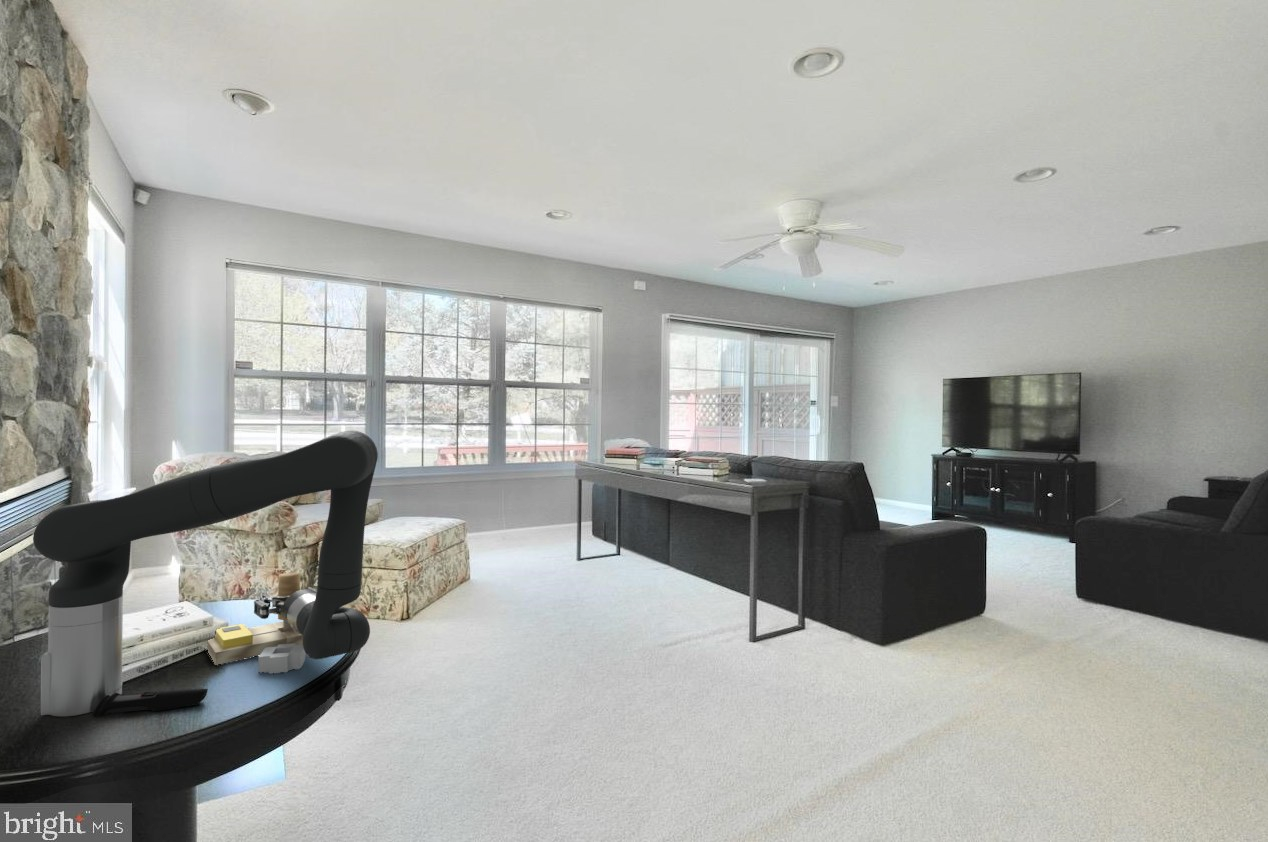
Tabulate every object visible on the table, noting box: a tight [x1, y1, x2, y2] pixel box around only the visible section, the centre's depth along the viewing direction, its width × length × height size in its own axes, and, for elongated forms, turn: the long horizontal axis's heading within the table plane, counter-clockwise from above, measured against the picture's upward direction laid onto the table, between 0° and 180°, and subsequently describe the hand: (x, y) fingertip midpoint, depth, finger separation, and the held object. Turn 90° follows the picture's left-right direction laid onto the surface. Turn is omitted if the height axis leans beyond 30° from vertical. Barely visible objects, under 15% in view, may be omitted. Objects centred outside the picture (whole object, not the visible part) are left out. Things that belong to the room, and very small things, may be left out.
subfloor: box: [207, 621, 303, 666], centre depth 131 cm, size 20×12×3 cm, turn 133°
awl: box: [277, 572, 301, 632], centre depth 134 cm, size 4×4×14 cm
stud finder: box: [215, 623, 253, 649], centre depth 127 cm, size 5×9×2 cm, turn 43°
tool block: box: [257, 643, 307, 675], centre depth 120 cm, size 7×7×3 cm
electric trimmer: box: [92, 688, 209, 718], centre depth 102 cm, size 4×16×3 cm, turn 102°
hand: (286, 595), depth 135 cm, fingers open, 8 cm apart
